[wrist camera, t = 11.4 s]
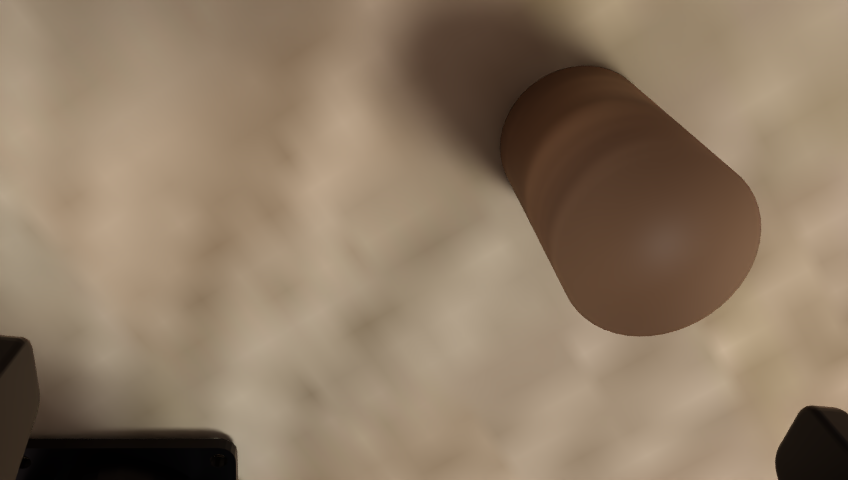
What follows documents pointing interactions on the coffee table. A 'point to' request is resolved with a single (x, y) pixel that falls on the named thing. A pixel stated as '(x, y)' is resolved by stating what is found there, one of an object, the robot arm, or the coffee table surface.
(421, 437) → the coffee table surface
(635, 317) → the short walnut stub
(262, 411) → the coffee table surface
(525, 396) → the coffee table surface
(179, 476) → the robot arm
